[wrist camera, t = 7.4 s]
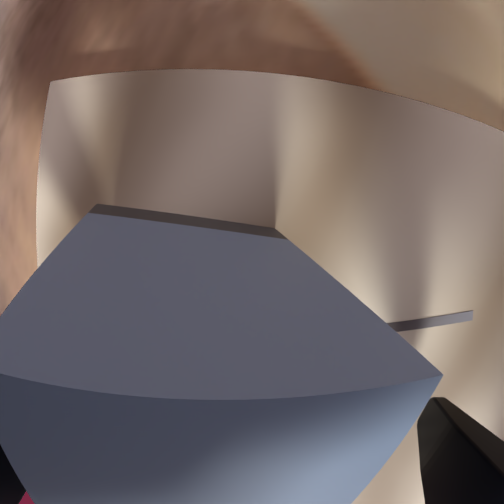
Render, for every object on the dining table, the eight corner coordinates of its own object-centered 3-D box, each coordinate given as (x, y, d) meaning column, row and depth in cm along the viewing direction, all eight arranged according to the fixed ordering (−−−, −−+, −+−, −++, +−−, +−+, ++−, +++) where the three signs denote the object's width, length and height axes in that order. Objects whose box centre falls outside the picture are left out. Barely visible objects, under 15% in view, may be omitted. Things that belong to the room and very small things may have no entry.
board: (581, 184, 6) (606, 187, 5) (429, 500, 11) (431, 521, 9) (75, 86, 11) (50, 81, 9) (77, 398, 15) (61, 412, 14)
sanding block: (274, 228, 8) (443, 374, 3) (222, 437, 11) (268, 578, 5) (97, 203, 7) (-31, 365, 2) (100, 431, 9) (101, 583, 4)
